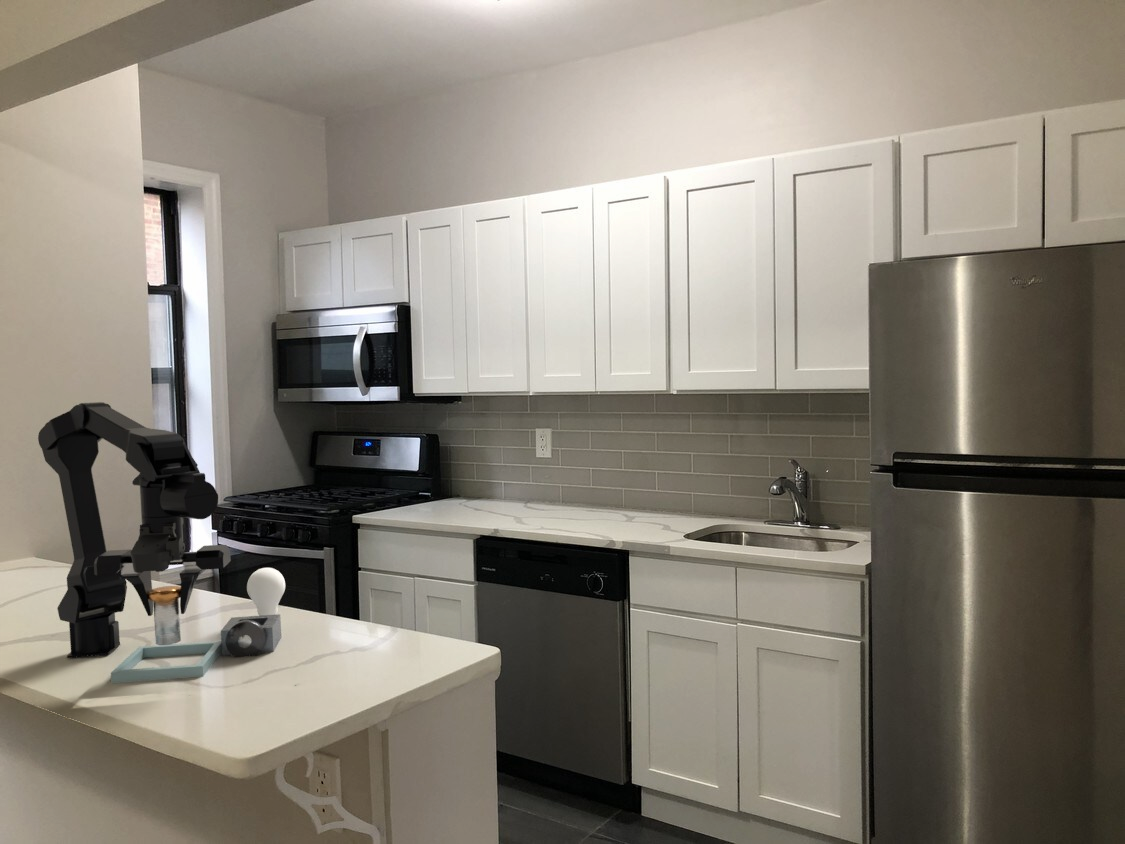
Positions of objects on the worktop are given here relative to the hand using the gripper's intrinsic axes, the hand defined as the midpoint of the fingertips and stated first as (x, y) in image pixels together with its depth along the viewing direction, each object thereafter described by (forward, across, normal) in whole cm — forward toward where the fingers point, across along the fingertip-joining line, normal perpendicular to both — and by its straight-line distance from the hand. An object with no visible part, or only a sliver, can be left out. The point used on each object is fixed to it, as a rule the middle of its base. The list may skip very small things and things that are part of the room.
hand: (166, 614), depth 141 cm
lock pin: (+4, 0, 0) cm, 4 cm away
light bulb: (+9, +11, +22) cm, 26 cm away
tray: (+9, 0, 0) cm, 9 cm away
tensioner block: (+9, +11, +7) cm, 16 cm away
